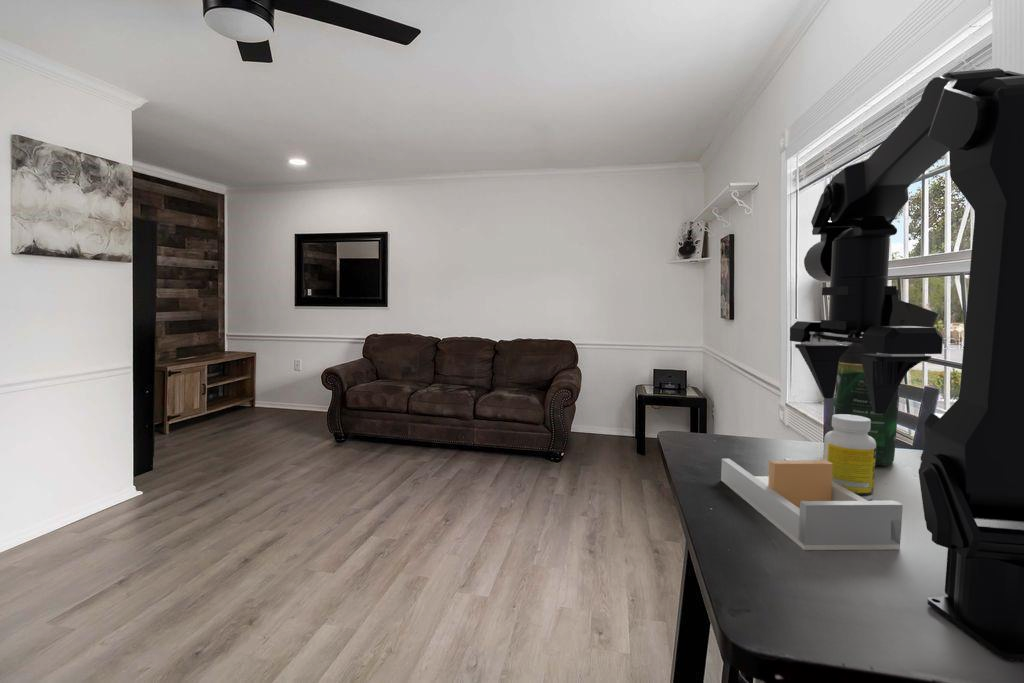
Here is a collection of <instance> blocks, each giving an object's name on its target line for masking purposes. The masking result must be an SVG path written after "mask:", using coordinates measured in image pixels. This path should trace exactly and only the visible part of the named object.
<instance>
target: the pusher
mask: <svg viewBox="0 0 1024 683" xmlns="http://www.w3.org/2000/svg"><path fill="white" fill-rule="evenodd" d="M832 469H833V463H831V462H829V461H827V460H823V459H813V460H812V459H810V460H808V459H806V460H804V459H801V460H800V459H798V460H797V459H796V460H795V459H793V460H784V459H783V460H782V459H781V460H777V459H776V460H773V459H772V460H769V461H768V476H769V481H768V487H770V488H771V489H773V490H774V491H775V492H777V493H778V494H780V495H781V496H782V497H784V498H785V499H787V500H788V501H789V502H791V503H792V504H794V505H795V506H800V501H831V489H832Z"/></svg>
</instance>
